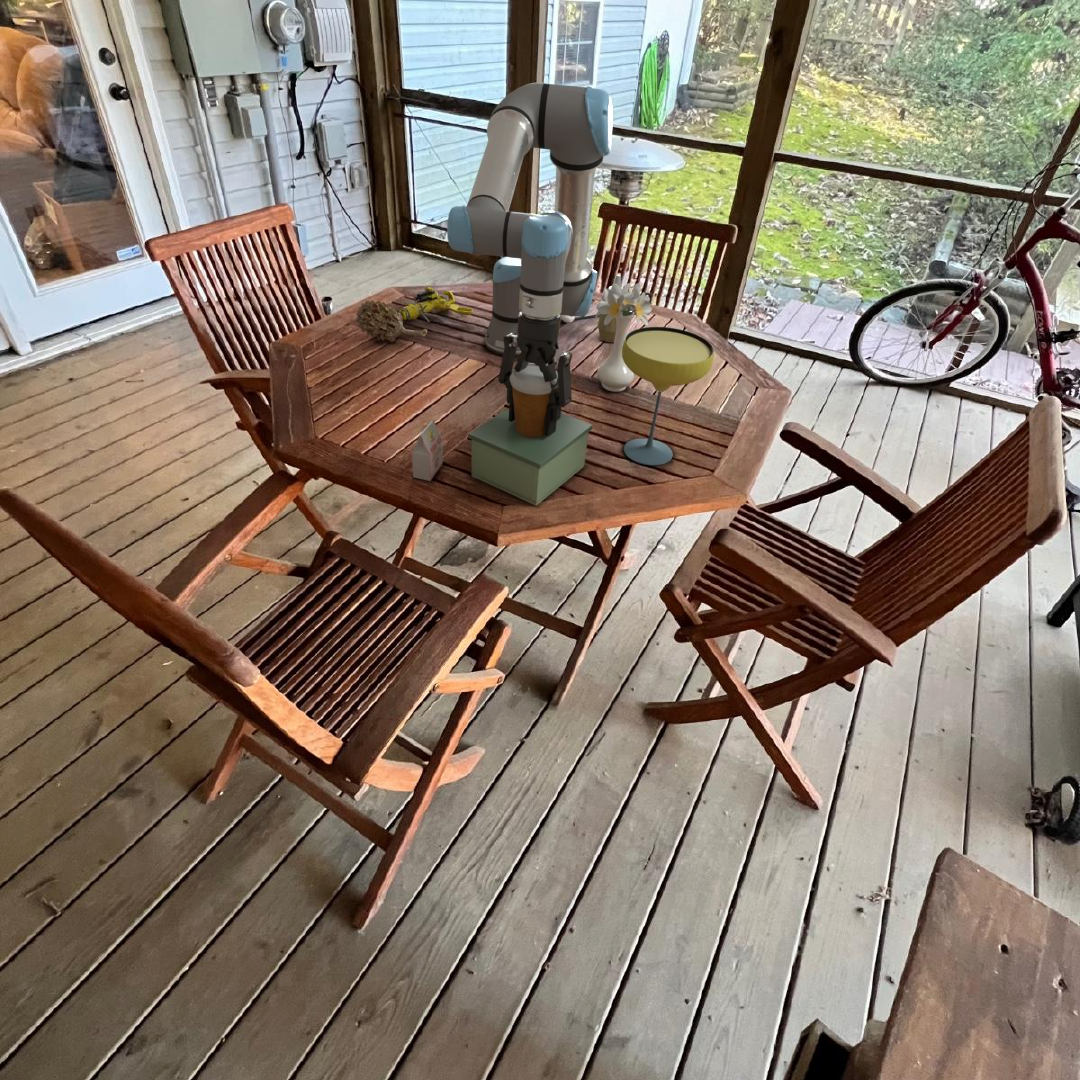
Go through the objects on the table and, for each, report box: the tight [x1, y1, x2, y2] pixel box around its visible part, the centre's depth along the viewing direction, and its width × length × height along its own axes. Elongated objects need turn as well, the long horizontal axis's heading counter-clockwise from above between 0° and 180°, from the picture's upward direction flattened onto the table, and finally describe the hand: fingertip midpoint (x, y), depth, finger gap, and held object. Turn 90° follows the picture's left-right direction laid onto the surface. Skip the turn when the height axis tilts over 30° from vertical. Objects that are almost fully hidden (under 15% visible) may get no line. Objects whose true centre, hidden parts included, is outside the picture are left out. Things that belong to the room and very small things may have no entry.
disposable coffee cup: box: [510, 363, 558, 437], centre depth 132 cm, size 10×10×12 cm
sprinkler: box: [399, 286, 474, 323], centre depth 200 cm, size 19×8×20 cm
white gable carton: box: [411, 419, 444, 482], centre depth 137 cm, size 4×7×10 cm, turn 165°
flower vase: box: [593, 282, 653, 393], centre depth 167 cm, size 13×18×25 cm
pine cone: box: [355, 299, 428, 343], centre depth 183 cm, size 22×10×10 cm, turn 70°
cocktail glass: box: [622, 326, 715, 467], centre depth 143 cm, size 18×18×25 cm
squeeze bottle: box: [597, 274, 624, 343], centre depth 192 cm, size 8×8×18 cm
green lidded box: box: [467, 407, 594, 507], centre depth 139 cm, size 19×17×10 cm
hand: (531, 425), depth 135 cm, fingers closed on disposable coffee cup, 8 cm apart
